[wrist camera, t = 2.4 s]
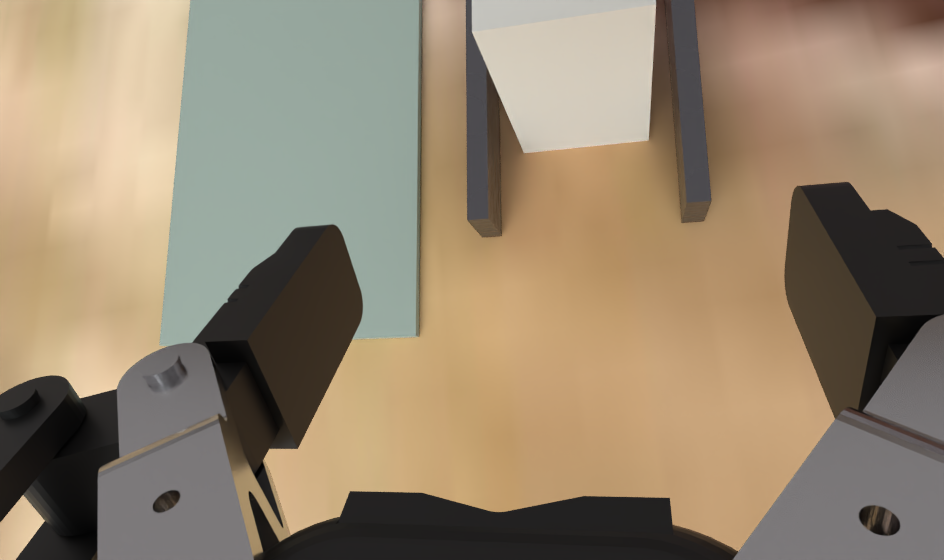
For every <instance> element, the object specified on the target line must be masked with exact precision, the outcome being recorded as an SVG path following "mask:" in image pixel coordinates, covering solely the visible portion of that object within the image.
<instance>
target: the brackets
mask: <svg viewBox="0 0 944 560" xmlns="http://www.w3.org/2000/svg"><path fill="white" fill-rule="evenodd" d="M665 12H666V25H667V38H668V51H669V64H670V77H671V90H672V104H673V117H674V130H675V143H676V156H677V169H678V182H679V195H680V209H681V222H682V223H688V222H701V221H704V219H705V217H706V214H707V211H708V208H709V206H710V203H711V191H710V180H709V168H708V157H707V145H706V134H705V122H704V110H703V99H702V87H701V76H700V64H699V53H698V41H697V29H696V18H695V6H694V0H665ZM466 82H467V220H468V222H469V223H470V224H471V225H472V226H473V227H474V228H475V230H476V231H477V232H478V233H479V234H480V235H481V236H482V237H495V236H502V231H501V175H500V118H499V94H498V91H497V89H496V87H495V84H494V82H493V80H492V77H491V75H490V73H489V70H488V68H487V66H486V64H485V61H484V59H483V57H482V54H481V52H480V50H479V47H478V45H477V43H476V40H475V38H474V36H473V33H472V0H466Z"/></svg>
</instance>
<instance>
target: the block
mask: <svg viewBox="0 0 944 560" xmlns="http://www.w3.org/2000/svg"><path fill="white" fill-rule="evenodd" d="M655 15H656V0H472V33H473V36H474V38H475V40H476V43H477V45H478V47H479V50H480V52H481V54H482V57H483V59H484V61H485V64H486V66H487V68H488V70H489V73H490V75H491V77H492V80H493V82H494V84H495V87H496V89H497V91H498V94H499V96H500V98H501V101H502V103H503V105H504V108H505V110H506V112H507V115H508V117H509V119H510V122H511V124H512V126H513V129H514V131H515V133H516V136H517V138H518V140H519V143H520V145H521V147H522V150H523V152H524V153H531V152H541V151H550V150H560V149H570V148H580V147H589V146H599V145H609V144H619V143H628V142H638V141H648V140H649V125H650V107H651V89H652V70H653V52H654V34H655Z"/></svg>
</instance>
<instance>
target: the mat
mask: <svg viewBox="0 0 944 560" xmlns="http://www.w3.org/2000/svg"><path fill="white" fill-rule="evenodd" d="M421 44H422V0H190V11H189V22H188V34H187V45H186V56H185V67H184V78H183V89H182V100H181V111H180V123H179V134H178V145H177V156H176V167H175V178H174V189H173V200H172V212H171V223H170V234H169V245H168V256H167V267H166V278H165V289H164V301H163V312H162V323H161V334H160V346H172V345H175V344H181V343H192V342H193V341H194V339H195V338H196V337H197V336H198V335H199V333H200V332H201V331H202V330H203V328H204V327H205V326H206V325H207V323H208V322H209V321H210V320H211V319H212V317H213V316H214V315H215V314H216V312H217V311H218V310H219V309H220V308H221V306H222V305H223V304H224V303H227V302H228V300H227V299H228V298H229V296H230V295H231V294H232V293H233V292H234V290H235V289H239V286H238V285H239V284H240V283H241V282H242V281H243V279H244V278H245V277H246V276H247V274H248V273H249V272H250V271H251V269H253V268H254V267H255V266H257V265H258V264H260V263H261V262H263V261H264V260H265V259H267V258H268V257H270V256H271V255H272V254H274V253H275V252H276V251H277V250H278V248H279V247H280V246H281V245H282V243H283V242H284V241H285V240H286V238H287V237H288V236H289V235H290V233H291V232H292V231H293V230H294V229H295V228H297V227H306V226H318V225H330V224H333V225H336V226H337V227H338V228H339V229H340V231H341V233H342V235H343V237H344V240H345V244H346V247H347V250H348V253H349V256H350V259H351V262H352V265H353V268H354V271H355V274H356V277H357V280H358V283H359V286H360V289H361V293H362V299H363V314H362V319H361V322H360V325H359V327H358V329H357V331H356V333H355V335H354V337H353V339H378V338H406V337H419V271H420V158H421Z"/></svg>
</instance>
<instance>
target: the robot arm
mask: <svg viewBox="0 0 944 560" xmlns="http://www.w3.org/2000/svg"><path fill="white" fill-rule="evenodd" d="M238 286H239V289H235V290H234V292H233V293H232V294H231V295H230V296H229V298H228V299H227V300H228V302H227V303H224V304H223V305H222V306H221V308H220V309H219V310H218V311H217V312H216V314H215V315H214V316H213V317H212V319H211V320H210V321H209V322H208V323H207V325H206V326H205V327H204V328H203V330H202V331H201V332H200V333H199V335H198V336H197V337H196V338H195V339H194V341H193V342H192V343H181V344H175V345H172V346H168V347H165V348H163V349H160V350H158V351H156V352H153V353H152V354H150V355H148V356H146V357H144V358H143V359H141V360H140V361H138V362H137V363H136V364H135V365H133V366H132V367H131V368H130V369H129V370H128V371H127V372H126V373H125V374H124V375H123V377H122V378H121V380H120V382H119V384H118V387H117V389H116V390H112V391H108V392H104V393H100V394H96V395H92V396H88V397H84V398H79V396H78V395H77V393H76V392H75V391H74V389H73V388H72V386H71V385H70V383H69V382H68V380H66V379H65V378H64V377H61V376H44V377H39V378H35V379H32V380H29V381H27V382H24V383H22V384H19V385H17V386H15V387H13V388H11V389H9V390H8V391H6V392H4V393H2V394H1V395H0V522H1V521H2V520H3V518H4V517H5V516H6V515H7V514H8V512H9V511H10V510H11V509H12V508H13V506H14V505H15V504H16V503H17V501H18V500H19V499H20V498H21V497H22V495H24V496H25V497H26V499H27V500H28V501H29V502H30V503H31V505H32V506H33V507H34V508H35V509H36V510H37V512H38V513H39V514H40V515H41V516H42V518H43V519H44V520H45V522H44V523H43V524H42V526H41V527H40V528H39V530H38V531H37V532H36V534H35V535H34V536H33V538H32V539H31V540H30V542H29V543H28V544H27V546H26V547H25V548H24V549H23V551H22V552H21V553H20V555H19V556H18V557H17V559H16V560H944V258H943V257H942V255H941V254H940V253H939V252H938V251H937V249H936V248H932V243H931V242H930V241H929V240H928V239H927V237H926V236H925V235H924V234H923V232H922V231H921V230H920V229H919V228H918V226H917V225H916V224H914V223H912V222H910V221H908V220H906V219H904V218H903V217H901V216H899V215H897V214H895V213H893V212H891V211H889V210H888V209H887V210H873V211H870V209H869V208H868V207H867V205H866V204H865V203H864V201H863V200H862V198H861V197H860V196H859V194H858V193H857V192H856V190H855V189H854V188H853V186H852V185H851V184H850V183H849V182H841V183H829V184H817V185H806V186H797V187H796V188H795V189H794V192H793V195H792V201H791V210H790V220H789V230H788V240H787V251H786V261H785V290H786V296H787V300H788V304H789V307H790V309H791V312H792V314H793V317H794V319H795V321H796V324H797V326H798V329H799V331H800V334H801V336H802V339H803V341H804V344H805V346H806V348H807V351H808V353H809V356H810V358H811V361H812V363H813V366H814V368H815V370H816V373H817V375H818V378H819V380H820V383H821V385H822V388H823V390H824V393H825V395H826V397H827V400H828V402H829V405H830V407H831V410H832V412H833V415H834V417H835V420H834V422H833V423H832V424H831V426H830V427H829V429H828V430H827V431H826V433H825V434H824V435H823V437H822V438H821V440H820V441H819V442H818V444H817V445H816V446H815V448H814V449H813V450H812V452H811V453H810V455H809V456H808V457H807V459H806V460H805V461H804V463H803V464H802V466H801V467H800V468H799V470H798V471H797V472H796V474H795V475H794V477H793V478H792V479H791V481H790V482H789V483H788V485H787V486H786V487H785V489H784V490H783V492H782V493H781V494H780V496H779V497H778V498H777V500H776V501H775V503H774V504H773V505H772V507H771V508H770V509H769V511H768V512H767V513H766V515H765V516H764V518H763V519H762V520H761V522H760V523H759V524H758V526H757V527H756V529H755V530H754V531H753V533H752V534H751V535H750V537H749V538H748V540H747V541H746V542H745V544H744V545H743V546H742V548H741V549H740V550H739V552H738V551H736V550H734V549H733V548H731V547H729V546H727V545H725V544H723V543H721V542H719V541H717V540H715V539H713V538H711V537H709V536H706V535H703V534H701V533H698V532H695V531H692V530H690V529H686V528H682V527H679V526H675V525H672V516H671V506H670V498H644V497H596V496H583V497H578V498H573V499H568V500H563V501H557V502H552V503H547V504H542V505H537V506H532V507H527V508H522V509H517V510H512V511H507V512H491V511H487V510H483V509H480V508H476V507H472V506H468V505H465V504H461V503H457V502H454V501H450V500H446V499H443V498H439V497H435V496H432V495H428V494H424V493H404V492H356V491H350V493H349V495H348V498H347V501H346V503H345V506H344V508H343V511H342V514H341V516H340V517H337V518H333V519H330V520H327V521H323V522H320V523H317V524H314V525H312V526H310V527H307V528H305V529H303V530H300V531H298V532H296V533H295V534H293V535H291V534H290V531H289V528H288V525H287V522H286V519H285V516H284V513H283V510H282V507H281V503H280V500H279V497H278V494H277V491H276V488H275V485H274V482H273V479H272V476H271V473H270V470H269V468H268V466H267V464H266V462H265V460H264V457H265V456H266V454H267V452H268V450H269V449H298V447H299V445H300V443H301V441H302V439H303V437H304V435H305V433H306V431H307V429H308V427H309V425H310V423H311V421H312V419H313V417H314V415H315V413H316V411H317V409H318V407H319V405H320V403H321V401H322V399H323V397H324V395H325V393H326V391H327V389H328V387H329V385H330V383H331V381H332V379H333V377H334V375H335V373H336V371H337V369H338V367H339V365H340V363H341V361H342V359H343V357H344V355H345V353H346V351H347V349H348V347H349V345H350V343H351V341H352V339H353V337H354V335H355V333H356V331H357V329H358V327H359V325H360V322H361V319H362V314H363V299H362V293H361V289H360V286H359V283H358V280H357V277H356V274H355V271H354V268H353V265H352V262H351V259H350V256H349V253H348V250H347V247H346V244H345V240H344V237H343V235H342V233H341V231H340V229H339V228H338V227H337V226H336V225H333V224H330V225H318V226H306V227H297V228H295V229H294V230H293V231H292V232H291V233H290V235H289V236H288V237H287V238H286V240H285V241H284V242H283V243H282V245H281V246H280V247H279V248H278V250H277V251H276V252H275V253H274V254H272V255H271V256H270V257H268V258H267V259H265V260H264V261H263V262H261V263H260V264H258V265H257V266H255V267H254V268H253V269H251V271H250V272H249V273H248V274H247V276H246V277H245V278H244V279H243V281H242V282H241V283H240V284H239V285H238Z"/></svg>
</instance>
